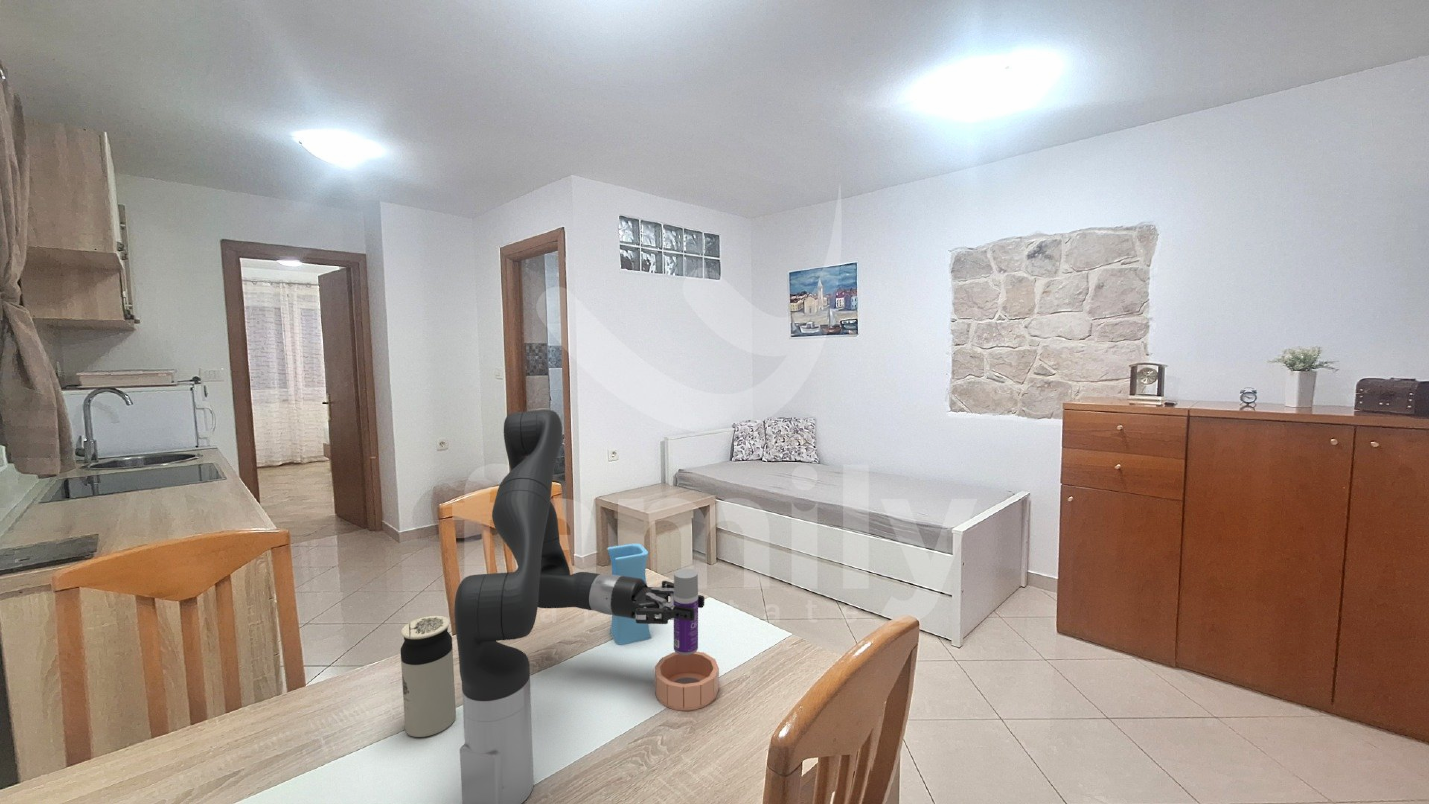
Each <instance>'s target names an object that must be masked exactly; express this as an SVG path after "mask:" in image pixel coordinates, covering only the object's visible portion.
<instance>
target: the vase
mask: <svg viewBox="0 0 1429 804" xmlns="http://www.w3.org/2000/svg"><path fill="white" fill-rule="evenodd" d="M607 552H608V555H609V558H610V564H611V574H612V575H619V576H627V577H633V578H640V579H643V580H644V581H645V583H646V585H647V586H648V583H647V578H646V568H647V560H648V557H649V556H648V555H649V551H648V550H647V549H646V548H645V547H644V546H643V545H642V544H641V543H635V542H634V543H629V544H621V545H617V546H610V547H607ZM610 636H611V637H612V638H613V641H614V643H615V644H616V645H618V646H625V645H628V644H633V643H637V642H642V641H646V640H651V639H652V635H651V631H650V627H649V624H640V623H636V619H632V618H626V617H620V616H614V615H611V624H610Z"/></svg>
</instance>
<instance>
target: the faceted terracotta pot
mask: <svg viewBox="0 0 1429 804" xmlns="http://www.w3.org/2000/svg"><path fill="white" fill-rule="evenodd" d="M719 672H720V667H719V665H718V663H717V661H716V659H715V658H714V657H712V656H711V655H709V654H707V653H706V652H704V651H703V652H702V651H698V650H697V651H696V652H695V653H693V654H690V655H680V654H678V653H676V652H675V651H674V652H672V653H669V654H667V655H665V656H662V657H661V658H660V659H659V660H658V661H657V663H656V665H655V666H654V690H655V696H656V699H657V701H658V702H659V703H660V704H661V705H663V706H664V707H667V708H668V709H671V710H675V711H680V712H688V711H689V712H690V711H695V710H699V709H702V708H705V707H707V706H709V705H710V704H711V703H713V702H714V700H715V699H716V698H717V696H718V693H719V692H718V691H719V689H720V673H719Z"/></svg>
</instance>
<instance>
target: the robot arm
mask: <svg viewBox="0 0 1429 804" xmlns="http://www.w3.org/2000/svg"><path fill="white" fill-rule="evenodd" d="M562 437H563V425H562V420H561V418H560V416H559V414H558V413H557V412H556V411H554V410H550V409H539V410H538V409H537V410H536V409H535V410H529V411H528V410H527V411H518V412H512V413H509V414H507V415H506V417H505V419H504V422H503V440H504V447H505V450H506V456H507V460H508V464H509V469H510V471H509V472H508V473H507V475H506V476H504V478H503V479H502V480H501V482H500V483H499V486H498V489H497V491H496V496H495V499H494V503H493V506H492V507H493V508H492V511H491V517H492V518H491V519H492V523H493V525H494V528H495V530H496V531H497V533H498V534H499V536H500V538H501V539H502V541H503V542H504V543H505V545H506V546H507V547H508V548H509V550H510V551H511V554H512V555H513V557H514V559H515V561H516V562H515V563H516V564H517V568H516V570H515V571H511V572H510V571H508V572H497V573H496V572H494V573H482V574H481V573H479V574H478V573H477V574H472V575H468V576H466V577H464V578H463V579H462V580H461V582H460V583H459V585H458V586H457V589H456V593H455V597H454V610H453V611H454V613H453V615H454V626H455V634H456V635H455V636H456V644H457V652H458V662H459V664H458V665H459V675H460V680H461V692H462V693H461V694H462V708H463V709H462V711H463V712H462V715H463V716H462V717H463V731H464V733H463V736H464V743H463V745H462V746H461V747H460V748H459V761H460V763H459V765H460V781H461V783H460V784H461V800H462V802H461V803H462V804H523V803H524V802H525V801H526V800H527V799H528V798H529V796H530V795H531V792H532V791H533V788H534V785H535V781H534V775H535V774H534V753H533V727H532V726H533V725H532V723H533V721H532V702H531V701H532V697H531V693H532V692H531V673H530V672H531V670H530V660H529V658H528V655H527V654H526V653H525V652H524V651H523V650H521V649H518V648H516V647H513V646H510V645H506V644H503V643H502V642H499V641H511V640H517V639H522V638H526V637H527V636H529V635H530V634H531V632H532V630H533V628H534V627H535V623H536V620H537V619H536V618H537V614H538V609H567V608H577V609H583V610H587V611H594V612H597V613H600V614H603V615H609V616H612V615H614V616H620V617H626V618H632V619H636V623H640V624H648V625H652V624H653V625H667V624H668V623H669V620H670V621H674V619H675V618H677V619H683V620H689V621H693V620H694V619H695V609H694V608H691V607H684V606H678V605H677V606H676V607H675V605H674V582H671V581H668V580H662V581H661V585H660V586H648V584H647V585H646V583H647V582H646V583H645V581H644V580H643V579H640V578H633V577H627V576H619V575H612V573H611V574H610V573H609V574H608V573H607V574H605V573H602V574H601V573H595V572H589V571H579V572H575V573H571V571H570V567H569V563H568V561H567V558H566V556H565V553H564V550H563V548H562V545H561V542H560V541H561V539H560V531H559V521H558V514H557V511H556V508H555V506H554V505H553V503H552V501H551V500H552V499H551V498H552V487H553V479H554V472H555V466H556V463H557V460H558V456H559V452H560V448H561V444H562V439H563V438H562ZM669 597H670V599H669ZM704 606H705V596H704V595H702V594H698V609H702V608H704Z"/></svg>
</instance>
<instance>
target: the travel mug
mask: <svg viewBox="0 0 1429 804" xmlns="http://www.w3.org/2000/svg"><path fill="white" fill-rule="evenodd" d="M450 624H451V621H450V619H449V618H447V617H446V616H443V615H431V616H430V615H429V616H424V617H421V618H417V619H414V620H411V621H410V622H409V623H407V624H406V625H405V626H403V627H402V629H401V631H400V634H401V636H402V637H403V643H402V645H401V647H400V666H401V682H402V695H403V697H402V698H403V715H404V730H405V733H406V734H407V735H409V736H411V737H415V738H422V737H423V738H425V737H429V736H432V735H436V734H438V733H441V732H443V731H444V730H445V729H447V728H449V727H450V726H451V725H452V724H453V723H454V721H455V719H456V717H457V710H456V709H457V708H456V706H457V705H456V689H455V672H454V671H455V670H454V652H453V650H454V649H453V637H452V635H451V633H450V632H449V631H448V629H449V626H450Z"/></svg>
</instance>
